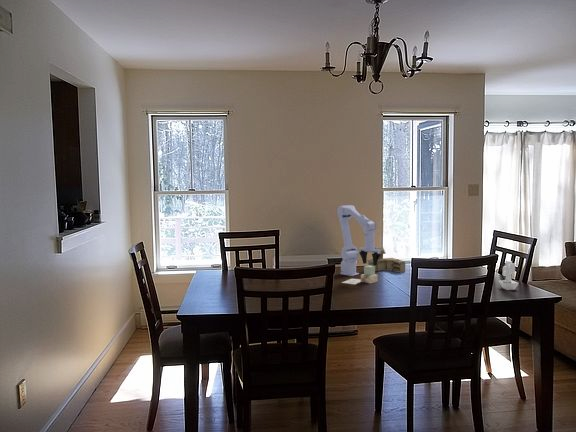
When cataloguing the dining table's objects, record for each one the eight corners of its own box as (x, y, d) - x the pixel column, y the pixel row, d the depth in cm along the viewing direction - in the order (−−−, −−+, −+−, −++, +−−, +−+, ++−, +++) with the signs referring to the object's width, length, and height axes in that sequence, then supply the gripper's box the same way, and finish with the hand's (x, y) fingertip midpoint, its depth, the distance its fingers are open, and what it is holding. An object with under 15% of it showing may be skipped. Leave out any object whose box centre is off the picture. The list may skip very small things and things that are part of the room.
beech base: (360, 281, 266) (360, 274, 265) (368, 279, 271) (368, 272, 270) (370, 283, 261) (370, 276, 260) (377, 281, 265) (377, 274, 265)
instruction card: (341, 282, 265) (341, 282, 265) (351, 278, 274) (351, 278, 274) (355, 284, 259) (355, 284, 259) (365, 280, 269) (365, 279, 269)
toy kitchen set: (380, 275, 281) (379, 251, 280) (367, 270, 297) (366, 247, 296) (405, 272, 287) (405, 249, 286) (391, 267, 303) (391, 245, 302)
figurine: (510, 286, 244) (510, 258, 243) (520, 290, 235) (520, 262, 233) (497, 286, 244) (497, 259, 243) (506, 291, 234) (506, 262, 233)
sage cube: (364, 274, 266) (364, 266, 265) (368, 273, 269) (368, 265, 268) (370, 275, 262) (370, 267, 262) (374, 274, 265) (374, 266, 265)
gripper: (355, 241, 269) (356, 263, 270) (375, 243, 258) (375, 266, 259) (363, 239, 274) (363, 261, 275) (382, 242, 263) (382, 265, 264)
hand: (369, 264), depth 267 cm, fingers open, 7 cm apart
